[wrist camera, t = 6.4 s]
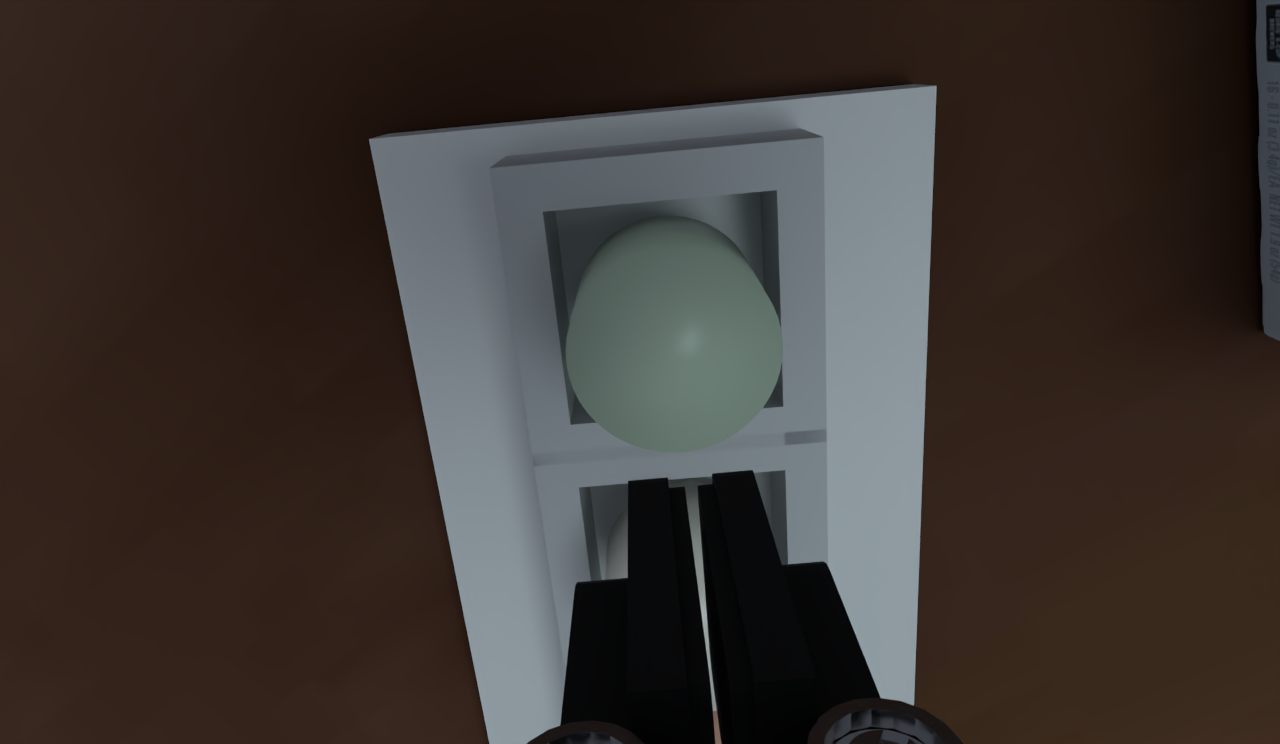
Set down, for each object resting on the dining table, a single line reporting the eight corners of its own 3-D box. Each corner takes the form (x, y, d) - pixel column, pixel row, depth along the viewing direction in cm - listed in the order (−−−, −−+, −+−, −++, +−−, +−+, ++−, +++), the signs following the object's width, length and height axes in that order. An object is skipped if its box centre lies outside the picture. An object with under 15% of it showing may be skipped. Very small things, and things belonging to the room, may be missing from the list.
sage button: (566, 224, 22) (552, 257, 18) (754, 207, 22) (779, 237, 18) (587, 397, 23) (578, 460, 20) (761, 382, 23) (785, 443, 20)
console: (388, 133, 25) (332, 149, 20) (913, 84, 25) (979, 88, 20) (511, 776, 34) (492, 890, 29) (895, 748, 34) (937, 857, 29)
